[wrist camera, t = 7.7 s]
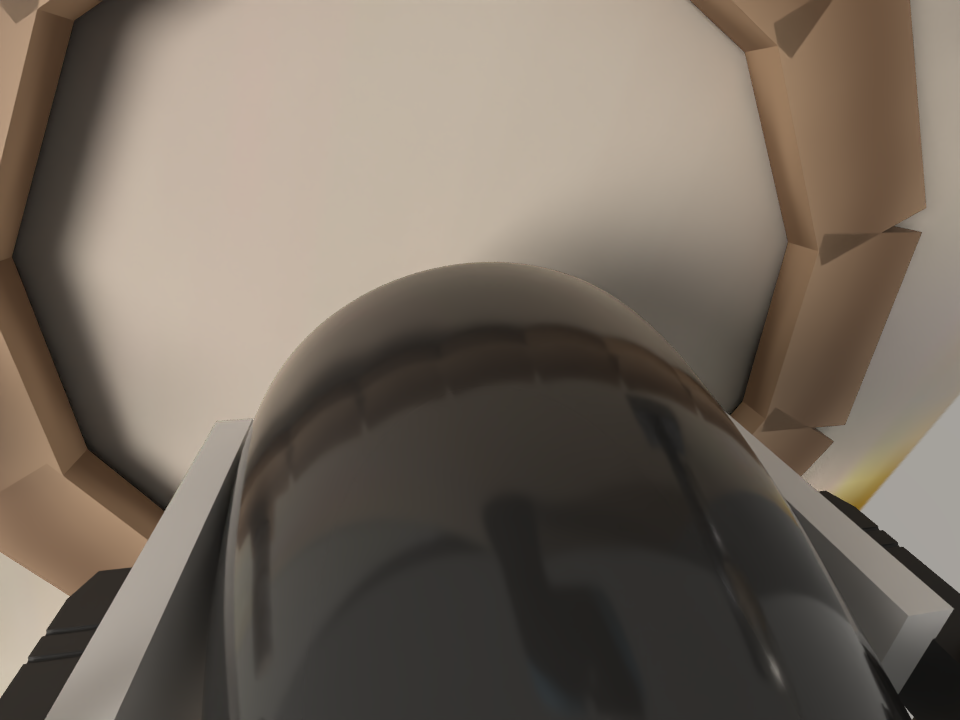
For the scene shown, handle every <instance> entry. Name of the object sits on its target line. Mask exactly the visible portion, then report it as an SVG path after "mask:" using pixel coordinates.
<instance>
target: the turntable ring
mask: <svg viewBox="0 0 960 720" xmlns="http://www.w3.org/2000/svg"><path fill="white" fill-rule="evenodd" d="M102 1H103V0H0V552H1V553H3V554H4V555H6V556H8V557H9V558H11V559H12V560H14V561H15V562H17V563H19V564H20V565H22V566H23V567H25V568H26V569H28V570H30V571H31V572H33V573H34V574H36V575H37V576H39V577H41V578H42V579H44V580H45V581H47V582H49V583H50V584H52V585H53V586H55V587H56V588H58V589H60V590H61V591H63V592H64V593H66V594H67V595H69V596H71V595H72V594H73V593H75V592H76V591H77V590H78V589H79V588H80V587H81V586H82V585H84V584H85V583H86V582H87V581H88V580H89V579H90V578H91V577H93V576H94V575H95V574H96V573H97V572H98V571H103V570H112V569H121V568H131V567H133V565H134V564H135V562H136V560H137V558H138V557H139V555H140V553H141V552H142V550H143V548H144V546H145V545H146V543H147V541H148V539H149V538H150V536H151V534H152V532H153V531H154V529H155V527H156V525H157V524H158V522H159V520H160V519H161V517H162V515H163V513H164V512H165V511H164V510H162V509H161V508H160V507H159V506H157V505H156V504H155V503H154V502H152V501H151V500H150V499H149V498H147V497H146V496H145V495H144V494H142V493H141V492H140V491H139V490H137V489H136V488H135V487H134V486H133V485H131V484H130V483H129V482H128V481H126V480H125V479H124V478H123V477H121V476H120V475H119V474H118V473H116V472H115V471H114V470H113V469H111V468H110V467H109V466H108V465H106V464H105V463H104V462H103V461H102V460H100V459H99V458H98V457H97V456H95V455H94V454H93V453H92V452H90V451H89V450H88V449H87V447H86V444H85V442H84V439H83V437H82V434H81V432H80V429H79V426H78V424H77V421H76V419H75V416H74V414H73V411H72V409H71V406H70V403H69V401H68V398H67V396H66V393H65V391H64V388H63V386H62V383H61V381H60V378H59V375H58V373H57V370H56V368H55V365H54V363H53V360H52V358H51V355H50V353H49V350H48V347H47V345H46V342H45V340H44V337H43V335H42V332H41V330H40V327H39V325H38V322H37V319H36V317H35V314H34V312H33V309H32V307H31V304H30V302H29V299H28V296H27V294H26V291H25V289H24V286H23V284H22V281H21V279H20V276H19V274H18V271H17V268H16V266H15V263H14V261H13V258H12V255H13V251H14V247H15V243H16V239H17V236H18V232H19V228H20V224H21V220H22V217H23V213H24V209H25V205H26V201H27V198H28V194H29V190H30V186H31V182H32V179H33V175H34V171H35V167H36V164H37V160H38V156H39V152H40V148H41V145H42V141H43V137H44V133H45V129H46V126H47V122H48V118H49V114H50V110H51V107H52V103H53V99H54V95H55V91H56V88H57V84H58V80H59V76H60V73H61V69H62V65H63V61H64V57H65V54H66V50H67V46H68V42H69V38H70V35H71V31H72V27H73V23H74V20H76V19H77V18H79V17H80V16H82V15H83V14H84V13H86V12H87V11H89V10H90V9H92V8H93V7H95V6H96V5H97V4H99V3H100V2H102ZM690 1H691V2H692V3H693V4H694V5H695V6H697V7H698V8H699V9H700V10H701V11H702V12H703V13H704V14H705V15H706V16H707V17H708V18H709V19H710V20H711V21H712V22H713V23H715V24H716V25H717V26H718V27H719V28H720V29H721V30H722V31H723V32H724V33H725V34H726V35H727V36H728V37H729V38H730V39H731V40H733V41H734V42H735V43H736V44H737V45H738V46H739V47H740V48H741V49H742V50H743V51H744V52H745V55H746V59H747V64H748V68H749V72H750V77H751V81H752V86H753V90H754V94H755V99H756V103H757V108H758V112H759V116H760V121H761V125H762V130H763V134H764V138H765V143H766V147H767V151H768V156H769V160H770V165H771V169H772V173H773V178H774V182H775V187H776V191H777V195H778V200H779V204H780V209H781V213H782V217H783V222H784V226H785V231H786V235H787V239H788V244H787V248H786V251H785V255H784V258H783V262H782V265H781V269H780V272H779V276H778V279H777V283H776V286H775V290H774V293H773V297H772V300H771V304H770V307H769V311H768V314H767V318H766V321H765V325H764V328H763V332H762V335H761V339H760V342H759V346H758V349H757V353H756V356H755V360H754V363H753V367H752V370H751V374H750V377H749V381H748V384H747V388H746V391H745V395H744V398H743V401H742V402H741V404H740V405H739V406H738V407H737V408H736V409H735V411H734V412H733V413H732V414H731V415H730V416H731V417H732V418H733V419H734V420H736V421H737V422H738V423H739V424H740V425H741V426H743V427H744V428H745V429H746V430H747V431H748V432H750V433H751V434H752V435H753V436H754V437H755V438H756V439H758V440H759V441H760V442H761V443H762V444H763V445H765V446H766V447H767V448H768V449H769V450H770V451H772V452H773V453H774V454H775V455H776V456H777V457H779V458H780V459H781V460H782V461H783V462H784V463H785V464H787V465H788V466H789V467H790V468H791V469H792V470H794V471H795V472H796V473H797V474H798V475H799V476H802V475H803V474H804V473H805V472H806V470H807V469H808V468H809V467H810V466H811V465H812V464H813V463H814V462H815V461H816V460H817V459H818V458H819V457H820V456H821V455H822V454H823V453H824V452H825V451H826V449H827V448H828V447H829V446H830V445H831V444H832V443H833V442H834V441H832V440H831V439H830V438H828V437H827V436H825V435H824V434H823V433H821V432H820V431H819V430H817V429H816V428H814V427H825V426H837V425H845V424H846V421H847V419H848V416H849V414H850V411H851V409H852V406H853V404H854V401H855V399H856V396H857V394H858V391H859V389H860V386H861V384H862V381H863V379H864V376H865V374H866V371H867V369H868V366H869V364H870V361H871V359H872V356H873V354H874V351H875V349H876V346H877V343H878V341H879V338H880V336H881V333H882V331H883V328H884V326H885V323H886V321H887V318H888V316H889V313H890V311H891V308H892V306H893V303H894V301H895V298H896V296H897V293H898V291H899V288H900V286H901V283H902V281H903V278H904V276H905V273H906V271H907V268H908V266H909V263H910V261H911V258H912V256H913V253H914V251H915V248H916V246H917V243H918V241H919V238H920V236H921V233H922V232H919V231H914V230H909V229H904V228H900V227H895V226H894V225H896V224H898V223H900V222H902V221H903V220H905V219H907V218H909V217H911V216H912V215H914V214H916V213H918V212H920V211H921V210H923V209H925V208H926V199H925V186H924V174H923V161H922V148H921V136H920V123H919V110H918V97H917V85H916V72H915V59H914V47H913V34H912V21H911V9H910V0H690Z"/></svg>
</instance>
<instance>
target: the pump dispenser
mask: <svg viewBox="0 0 960 720" xmlns="http://www.w3.org/2000/svg"><path fill="white" fill-rule="evenodd" d="M201 720H912V719H911V718H910V716H909V714H908V712H907V710H906V708H905V706H904V705H903V703H902V701H901V699H900V697H899V695H898V694H897V692H896V690H895V688H894V686H893V684H892V683H891V681H890V679H889V677H888V675H887V673H886V672H885V670H884V668H883V666H882V664H881V663H880V661H879V659H878V657H877V655H876V654H875V652H874V650H873V648H872V647H871V645H870V643H869V641H868V639H867V638H866V636H865V634H864V632H863V631H862V629H861V627H860V625H859V623H858V622H857V620H856V618H855V616H854V615H853V613H852V611H851V609H850V608H849V606H848V604H847V602H846V601H845V599H844V597H843V595H842V594H841V592H840V590H839V589H838V587H837V585H836V583H835V582H834V580H833V578H832V576H831V575H830V573H829V571H828V570H827V568H826V566H825V564H824V563H823V561H822V559H821V558H820V556H819V554H818V553H817V551H816V549H815V547H814V546H813V544H812V542H811V541H810V539H809V537H808V536H807V534H806V532H805V531H804V529H803V527H802V526H801V524H800V522H799V521H798V519H797V518H796V516H795V514H794V513H793V511H792V509H791V508H790V506H789V504H788V503H787V501H786V500H785V498H784V496H783V495H782V493H781V492H780V490H779V489H778V487H777V485H776V484H775V482H774V481H773V479H772V478H771V476H770V475H769V473H768V472H767V470H766V469H765V467H764V466H763V464H762V463H761V461H760V460H759V458H758V457H757V455H756V454H755V453H754V451H753V450H752V448H751V447H750V445H749V444H748V443H747V441H746V440H745V438H744V437H743V436H742V434H741V433H740V431H739V430H738V429H737V427H736V426H735V425H734V423H733V422H732V420H731V419H730V418H729V416H728V415H727V414H726V412H725V411H724V410H723V408H722V407H721V406H720V405H719V403H718V402H717V401H716V399H715V398H714V397H713V395H712V394H711V393H710V392H709V390H708V389H707V388H706V387H705V385H704V384H703V383H702V381H701V380H700V379H699V378H698V376H697V375H696V374H695V373H694V371H693V370H692V369H691V368H690V367H689V365H688V364H687V363H686V362H685V360H684V359H683V358H682V357H681V356H680V355H679V353H678V352H677V351H676V350H675V349H674V348H673V347H672V346H671V345H670V344H669V343H668V342H667V340H666V339H665V338H664V337H663V336H662V335H661V334H660V333H658V332H657V331H656V330H655V329H654V328H653V327H652V326H651V325H650V324H649V323H648V322H647V321H645V320H644V319H643V318H642V317H641V316H639V315H638V314H637V313H636V312H635V311H633V310H632V309H631V308H629V307H628V306H627V305H625V304H624V303H623V302H621V301H620V300H618V299H617V298H615V297H614V296H612V295H611V294H609V293H608V292H606V291H604V290H602V289H601V288H599V287H597V286H595V285H593V284H591V283H589V282H586V281H584V280H582V279H579V278H577V277H574V276H571V275H569V274H566V273H562V272H559V271H556V270H552V269H548V268H543V267H538V266H533V265H527V264H519V263H509V262H476V263H464V264H456V265H449V266H443V267H439V268H434V269H429V270H426V271H422V272H418V273H415V274H411V275H408V276H405V277H403V278H400V279H397V280H394V281H392V282H390V283H387V284H385V285H382V286H380V287H378V288H376V289H374V290H372V291H370V292H368V293H366V294H364V295H363V296H361V297H359V298H357V299H356V300H354V301H352V302H351V303H349V304H347V305H346V306H344V307H343V308H341V309H340V310H338V311H337V312H336V313H334V314H333V315H332V316H330V317H329V318H328V319H326V320H325V321H324V322H323V323H322V324H320V325H319V326H318V327H317V328H316V329H315V330H314V331H313V332H312V333H310V334H309V335H308V336H307V337H306V338H305V340H304V341H303V342H302V343H301V344H300V345H299V346H298V347H297V348H296V349H295V351H294V352H293V353H292V354H291V355H290V357H289V358H288V359H287V361H286V362H285V363H284V365H283V366H282V367H281V369H280V370H279V372H278V373H277V375H276V377H275V378H274V380H273V381H272V383H271V385H270V387H269V389H268V390H267V392H266V394H265V396H264V398H263V400H262V402H261V404H260V407H259V409H258V411H257V413H256V415H255V418H254V420H253V423H252V425H251V428H250V430H249V433H248V436H247V438H246V441H245V444H244V448H243V451H242V454H241V457H240V461H239V465H238V468H237V472H236V477H235V481H234V485H233V489H232V494H231V498H230V503H229V508H228V513H227V517H226V522H225V527H224V532H223V537H222V543H221V548H220V554H219V560H218V565H217V571H216V577H215V584H214V590H213V597H212V604H211V612H210V620H209V629H208V638H207V648H206V659H205V671H204V684H203V699H202V716H201Z"/></svg>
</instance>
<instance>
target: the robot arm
mask: <svg viewBox="0 0 960 720" xmlns="http://www.w3.org/2000/svg"><path fill="white" fill-rule="evenodd" d="M726 414H727V413H726ZM727 415H728V416H729V418H730V419H731V420H732V422H733V423H734V425H735V426H736V427H737V429H738V430H739V431H740V433H741V434H742V436H743V437H744V438H745V440H746V441H747V443H748V444H749V445H750V447H751V448H752V450H753V451H754V453H755V454H756V455H757V457H758V458H759V460H760V461H761V463H762V464H763V466H764V467H765V469H766V470H767V472H768V473H769V475H770V476H771V478H772V479H773V481H774V482H775V484H776V485H777V487H778V489H779V490H780V492H781V493H782V495H783V496H784V498H785V500H786V501H787V503H788V504H789V506H790V508H791V509H792V511H793V513H794V514H795V516H796V518H797V519H798V521H799V522H800V524H801V526H802V527H803V529H804V531H805V532H806V534H807V536H808V537H809V539H810V541H811V542H812V544H813V546H814V547H815V549H816V551H817V553H818V554H819V556H820V558H821V559H822V561H823V563H824V564H825V566H826V568H827V570H828V571H829V573H830V575H831V576H832V578H833V580H834V582H835V583H836V585H837V587H838V589H839V590H840V592H841V594H842V595H843V597H844V599H845V601H846V602H847V604H848V606H849V608H850V609H851V611H852V613H853V615H854V616H855V618H856V620H857V622H858V623H859V625H860V627H861V629H862V631H863V632H864V634H865V636H866V638H867V639H868V641H869V643H870V645H871V647H872V648H873V650H874V652H875V654H876V655H877V657H878V659H879V661H880V663H881V664H882V666H883V668H884V670H885V672H886V673H887V675H888V677H889V679H890V681H891V683H892V684H893V686H894V688H895V690H896V692H897V694H898V695H899V697H900V699H901V701H902V703H903V705H904V706H905V707H906V708H907V709H908V711H909V712H910V713H911V714H912V715H913V716H914V718H913V719H912V720H960V593H958V592H957V591H956V590H955V589H953V588H952V587H951V586H950V585H949V584H947V583H946V582H945V581H944V580H943V579H941V578H940V577H939V576H938V575H937V574H935V573H934V572H933V571H932V570H930V569H929V568H928V567H927V566H926V565H924V564H923V563H922V562H921V561H920V560H918V559H917V558H916V557H915V556H914V555H912V554H911V553H910V552H909V551H908V550H906V549H905V548H904V547H899V546H898V542H897V541H895V540H894V539H893V538H891V536H889V535H888V534H887V533H886V532H885V531H883V530H881V531H880V530H879V529H878V526H877V525H876V524H875V523H873V522H872V521H871V520H870V519H869V518H867V517H866V516H865V515H864V514H863V513H862V512H860V511H859V510H858V509H857V508H856V507H854V506H852V505H851V504H849V503H847V502H845V501H843V500H841V499H840V498H838V497H836V496H834V495H832V494H831V493H829V492H827V491H820V492H818V491H817V490H816V489H814V488H813V487H812V486H811V485H810V484H809V483H808V482H806V481H805V480H804V479H803V478H802V477H801V476H799V475H798V474H797V473H796V472H795V471H794V470H792V469H791V468H790V467H789V466H788V465H787V464H785V463H784V462H783V461H782V460H781V459H780V458H779V457H777V456H776V455H775V454H774V453H773V452H772V451H770V450H769V449H768V448H767V447H766V446H765V445H763V444H762V443H761V442H760V441H759V440H758V439H756V438H755V437H754V436H753V435H752V434H751V433H750V432H748V431H747V430H746V429H745V428H744V427H743V426H741V425H740V424H739V423H738V422H737V421H736V420H734V419H733V418H732V417H731V416H730V415H729V414H727ZM252 423H253V419H240V420H226V421H216V423H215V425H214V426H213V428H212V430H211V432H210V433H209V435H208V437H207V439H206V440H205V442H204V444H203V446H202V447H201V449H200V451H199V453H198V454H197V456H196V458H195V459H194V461H193V463H192V465H191V466H190V468H189V470H188V472H187V473H186V475H185V477H184V479H183V480H182V482H181V484H180V486H179V487H178V489H177V491H176V492H175V494H174V496H173V498H172V499H171V501H170V503H169V505H168V506H167V508H166V510H165V512H164V513H163V515H162V517H161V519H160V520H159V522H158V524H157V525H156V527H155V529H154V531H153V532H152V534H151V536H150V538H149V539H148V541H147V543H146V545H145V546H144V548H143V550H142V552H141V553H140V555H139V557H138V558H137V560H136V562H135V564H134V565H133V567H131V568H121V569H112V570H103V571H98V572H97V573H96V574H95V575H94V576H93V577H91V578H90V579H89V580H88V581H87V582H86V583H85V584H84V585H82V586H81V587H80V588H79V589H78V590H77V591H76V592H75V593H73V594H72V595H71V596H70V597H69V598H68V599H67V600H66V602H65V603H64V605H63V606H62V608H61V609H60V611H59V612H58V614H57V615H56V617H55V618H54V620H53V621H52V623H51V624H50V626H49V627H48V628H47V630H46V631H47V633H46V636H43V637H41V639H40V640H39V642H38V643H37V645H36V646H35V648H34V649H33V651H32V652H31V654H30V655H29V657H28V662H27V664H23V666H22V667H21V669H20V670H19V672H18V673H17V674H16V676H15V677H14V679H13V680H12V682H11V683H10V685H9V686H8V688H7V689H6V691H5V692H4V694H3V695H2V697H1V698H0V720H201V716H202V699H203V684H204V671H205V659H206V648H207V638H208V629H209V620H210V612H211V604H212V597H213V590H214V584H215V577H216V571H217V565H218V560H219V554H220V548H221V543H222V537H223V532H224V527H225V522H226V517H227V513H228V508H229V503H230V498H231V494H232V489H233V485H234V481H235V477H236V472H237V468H238V465H239V461H240V457H241V454H242V451H243V448H244V444H245V441H246V438H247V436H248V433H249V430H250V428H251V425H252Z"/></svg>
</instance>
